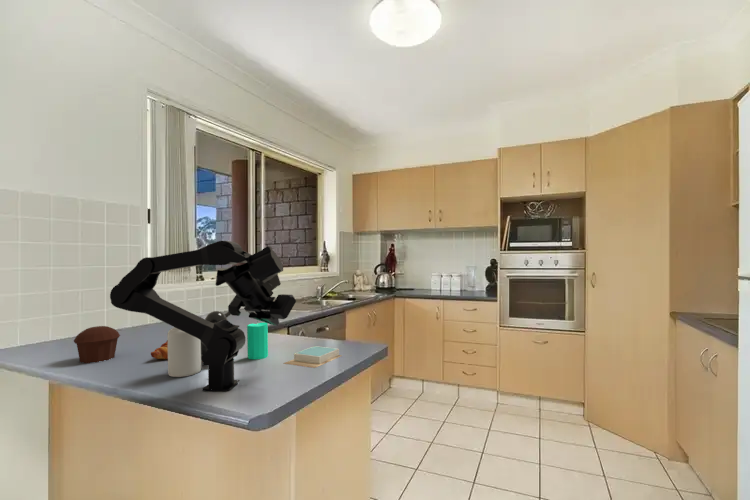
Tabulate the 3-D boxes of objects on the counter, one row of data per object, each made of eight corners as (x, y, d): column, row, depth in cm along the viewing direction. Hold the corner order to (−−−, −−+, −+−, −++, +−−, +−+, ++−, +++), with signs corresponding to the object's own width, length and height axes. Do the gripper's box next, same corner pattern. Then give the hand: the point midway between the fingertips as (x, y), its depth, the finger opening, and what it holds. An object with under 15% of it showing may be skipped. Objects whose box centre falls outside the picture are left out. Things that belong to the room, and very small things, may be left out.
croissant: (204, 356, 133) (197, 335, 135) (223, 344, 129) (215, 323, 131) (146, 372, 114) (138, 347, 116) (166, 359, 110) (158, 333, 112)
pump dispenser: (242, 360, 113) (241, 309, 113) (211, 369, 104) (211, 314, 104) (220, 356, 118) (219, 307, 119) (189, 364, 109) (188, 312, 110)
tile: (319, 356, 106) (338, 348, 114) (294, 353, 110) (314, 345, 119) (319, 364, 106) (338, 355, 114) (294, 360, 110) (314, 352, 119)
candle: (271, 356, 117) (270, 317, 118) (263, 361, 111) (263, 320, 112) (252, 356, 118) (252, 317, 118) (244, 361, 112) (243, 320, 112)
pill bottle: (170, 370, 104) (169, 316, 104) (202, 367, 106) (201, 314, 107) (165, 379, 96) (165, 320, 96) (199, 375, 99) (199, 318, 99)
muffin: (73, 366, 110) (73, 332, 110) (72, 359, 118) (72, 327, 118) (122, 359, 117) (122, 327, 117) (118, 352, 126) (118, 322, 126)
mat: (314, 370, 102) (314, 367, 102) (283, 365, 107) (283, 363, 107) (342, 357, 114) (342, 355, 114) (312, 353, 119) (312, 351, 119)
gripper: (290, 262, 93) (317, 302, 103) (236, 263, 101) (266, 299, 111) (268, 297, 86) (300, 336, 95) (211, 295, 94) (245, 331, 104)
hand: (277, 324), depth 102 cm, fingers closed
